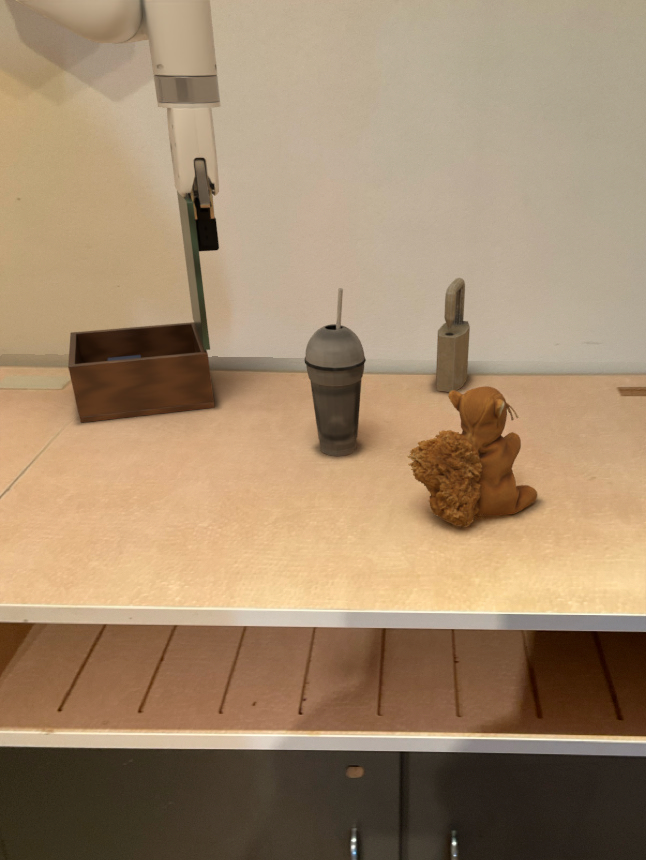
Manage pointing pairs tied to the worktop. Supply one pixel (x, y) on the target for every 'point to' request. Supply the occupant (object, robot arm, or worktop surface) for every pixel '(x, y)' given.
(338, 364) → the beverage cup
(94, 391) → the chest
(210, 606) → the worktop surface
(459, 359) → the padlock
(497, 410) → the stuffed squirrel
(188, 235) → the lid
